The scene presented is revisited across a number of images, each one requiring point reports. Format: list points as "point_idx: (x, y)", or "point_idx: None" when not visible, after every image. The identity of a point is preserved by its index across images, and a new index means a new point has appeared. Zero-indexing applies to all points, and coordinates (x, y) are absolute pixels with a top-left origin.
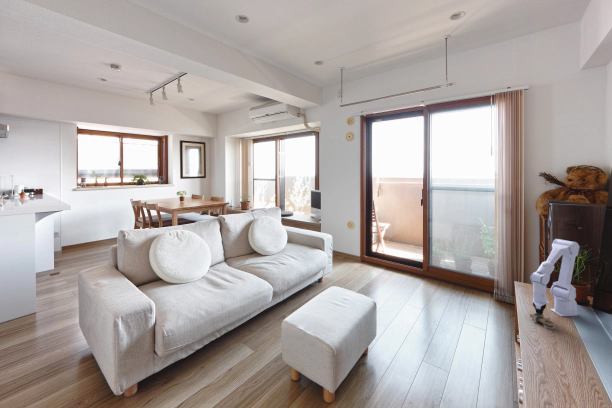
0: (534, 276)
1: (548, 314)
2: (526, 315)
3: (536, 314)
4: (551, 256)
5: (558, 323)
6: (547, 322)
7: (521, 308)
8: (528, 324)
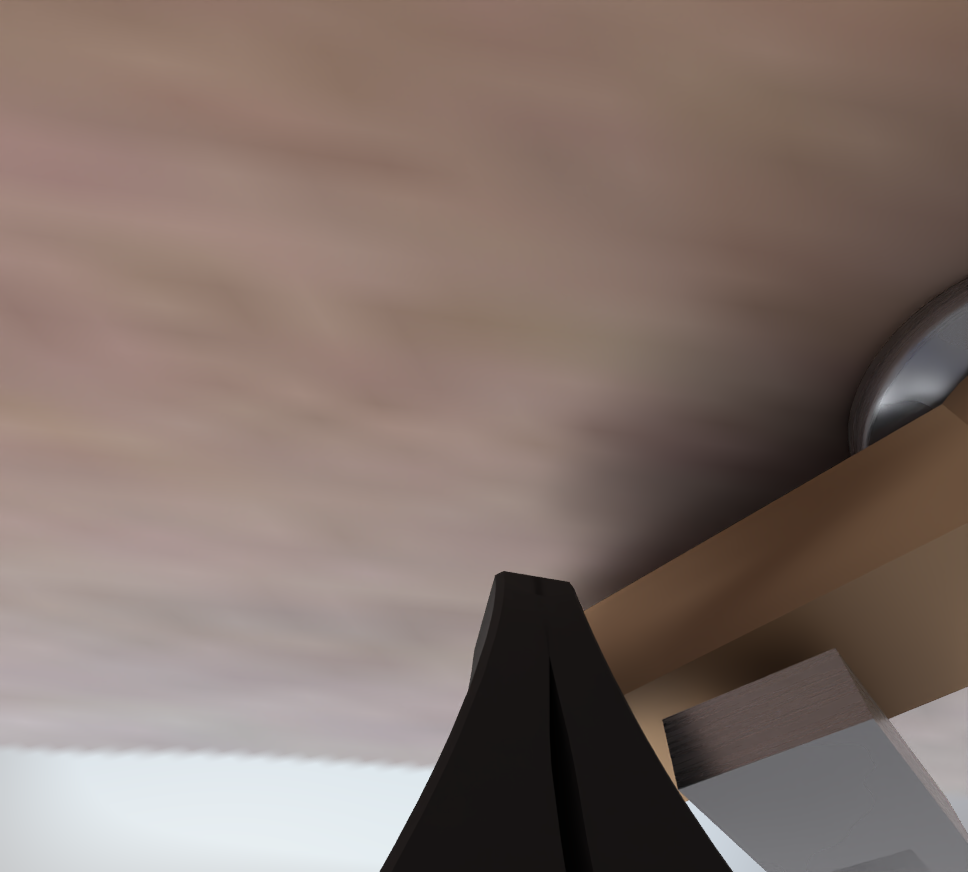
0: None
1: (6, 275)
2: (442, 714)
3: (868, 867)
4: None
5: (616, 47)
6: None
7: (122, 747)
8: (896, 728)
